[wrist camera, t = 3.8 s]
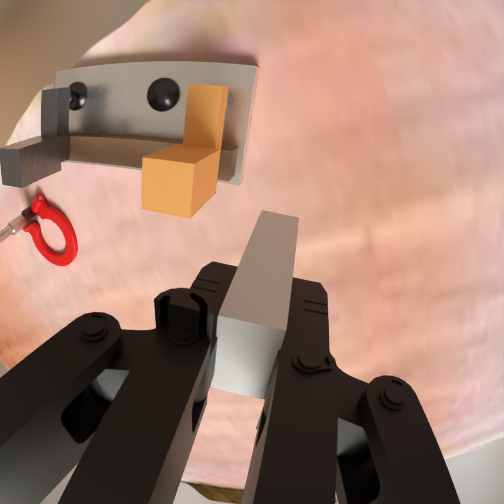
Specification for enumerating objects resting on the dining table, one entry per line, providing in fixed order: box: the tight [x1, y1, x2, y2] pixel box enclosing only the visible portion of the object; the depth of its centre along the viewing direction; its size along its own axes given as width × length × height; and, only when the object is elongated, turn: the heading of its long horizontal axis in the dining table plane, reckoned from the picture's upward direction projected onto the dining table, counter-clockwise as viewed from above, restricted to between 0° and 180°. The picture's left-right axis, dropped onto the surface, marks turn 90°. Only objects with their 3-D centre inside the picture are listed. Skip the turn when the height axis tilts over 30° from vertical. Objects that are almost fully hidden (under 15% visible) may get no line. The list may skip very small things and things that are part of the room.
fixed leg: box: [0, 87, 77, 188], centre depth 21 cm, size 8×3×8 cm, turn 172°
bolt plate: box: [54, 61, 259, 185], centre depth 23 cm, size 10×21×3 cm, turn 82°
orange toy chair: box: [142, 84, 229, 218], centre depth 19 cm, size 8×3×8 cm, turn 172°
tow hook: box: [0, 194, 78, 266], centre depth 28 cm, size 8×13×9 cm
